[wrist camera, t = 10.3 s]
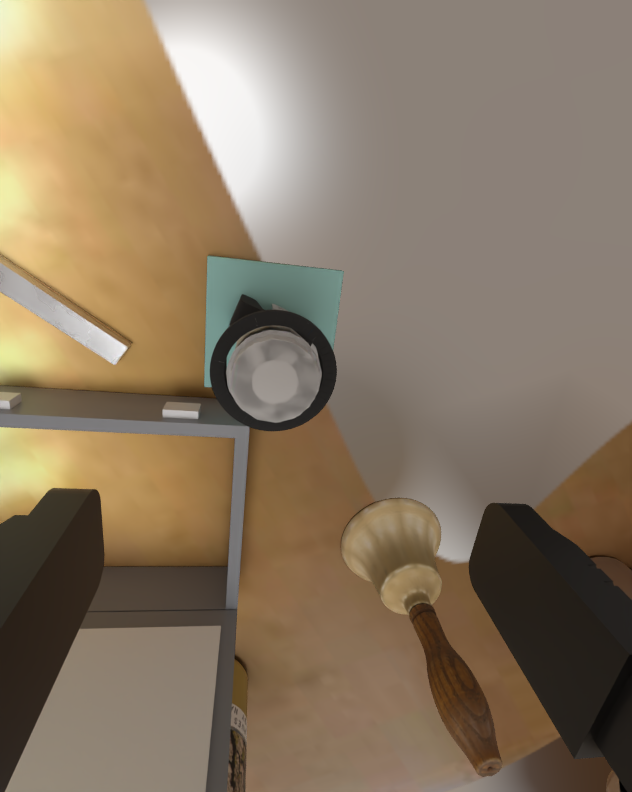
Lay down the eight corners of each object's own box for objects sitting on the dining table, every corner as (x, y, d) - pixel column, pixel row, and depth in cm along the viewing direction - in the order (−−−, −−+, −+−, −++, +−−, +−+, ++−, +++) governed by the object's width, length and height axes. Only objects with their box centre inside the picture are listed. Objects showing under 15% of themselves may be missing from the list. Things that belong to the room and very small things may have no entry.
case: (251, 393, 28) (241, 604, 12) (238, 580, 34) (221, 887, 18) (-66, 373, 25) (-609, 616, 9) (-22, 581, 31) (-314, 951, 15)
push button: (345, 316, 26) (391, 364, 17) (307, 389, 28) (332, 468, 19) (246, 267, 25) (239, 291, 15) (212, 348, 26) (186, 413, 17)
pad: (341, 270, 26) (343, 271, 25) (325, 391, 29) (327, 394, 28) (208, 255, 25) (207, 256, 24) (205, 383, 28) (204, 386, 27)
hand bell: (323, 525, 33) (376, 765, 18) (420, 480, 33) (553, 687, 18) (364, 593, 36) (436, 843, 21) (452, 553, 36) (588, 780, 21)
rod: (134, 341, 26) (127, 347, 25) (121, 358, 27) (114, 365, 25) (-31, 230, 23) (-48, 230, 22) (-43, 251, 23) (-60, 252, 22)
